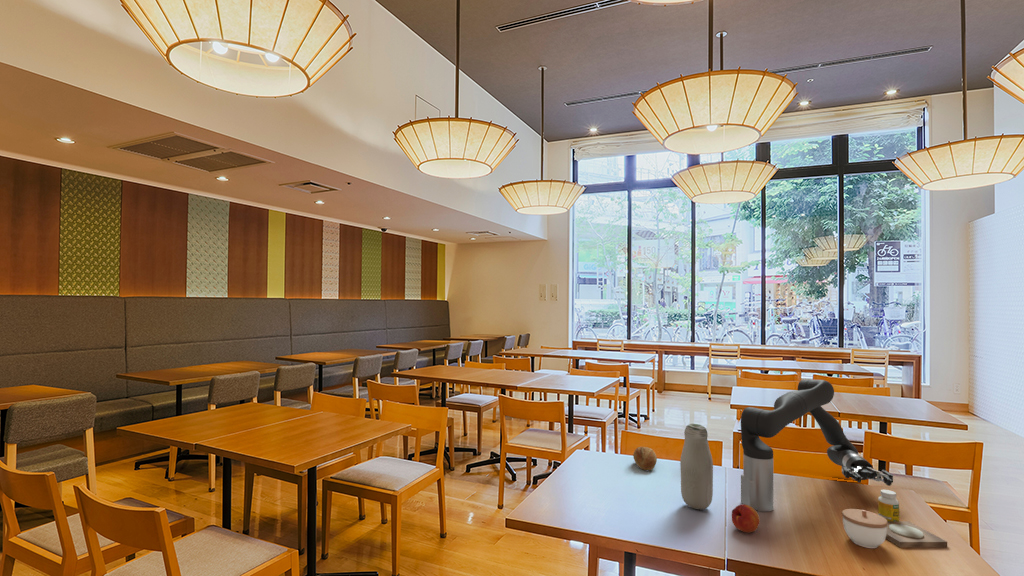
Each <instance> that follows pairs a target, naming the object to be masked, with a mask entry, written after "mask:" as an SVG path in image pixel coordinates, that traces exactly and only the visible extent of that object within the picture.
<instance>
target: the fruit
mask: <svg viewBox="0 0 1024 576" xmlns="http://www.w3.org/2000/svg"><path fill="white" fill-rule="evenodd" d="M760 521H761V520H760V516H759V513H758V512H757V510H754V509H753V508H752V507H750V506H748V505H745V504H743V503H741V504H739V505H736V506H735V507H734V508H733V509H732V510H731V522H732V524H733V526H734V527H735V528H736V529H737V530H739V531H741V532H744V533H747V534H748V533H749V534H750V533H754V532H755V531H757V529H758V528H759V525H760Z"/></svg>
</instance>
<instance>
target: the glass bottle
mask: <svg viewBox="0 0 1024 576" xmlns="http://www.w3.org/2000/svg"><path fill="white" fill-rule="evenodd" d="M683 435H684V443H683V447H682V451H681V455H680V460H679V461H680V463H679V464H680V465H679V467H680V494H681V498H682V500H683V502H684V503H685V504H686V505H687V506H688V507H690V508H692V509H695V510H699V509H700V510H705V509H708V508H709V507H710V506H711V504H712V501H713V495H714V493H713V491H714V488H713V487H714V484H713V482H714V480H713V479H714V462H713V461H714V460H713V456H712V453H711V450H710V446H709V440H708V437H709V436H708V435H709V434H708V430H707V428H706V427H705V426H704V425H701V424H698V423H689V424H688V425H686V427H685V429H684V434H683ZM700 510H699V511H700Z"/></svg>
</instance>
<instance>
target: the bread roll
mask: <svg viewBox="0 0 1024 576" xmlns="http://www.w3.org/2000/svg"><path fill="white" fill-rule="evenodd" d="M633 451H634V452H633V455H632V456H633V460H634V462H635V464H636V466H638V467H639V468H640V469H641V470H643V471H647V470H649V471H652V470H653V469H654V468H655V466H656V464H657V462H658V461H657V460H658V459H657V458H658V457H657V454H656V452H655V450H654V449H652V448H650V447H648V446H638V447H636V448H635V450H633ZM638 467H637V468H638Z"/></svg>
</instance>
